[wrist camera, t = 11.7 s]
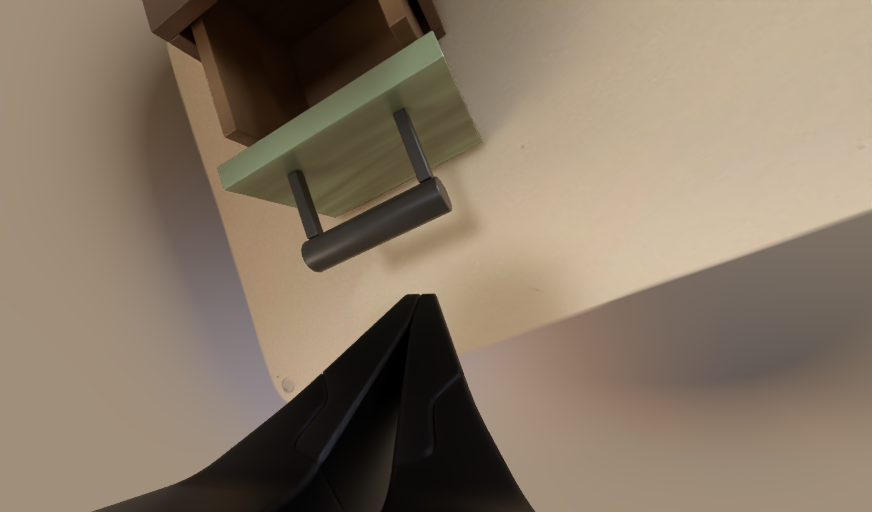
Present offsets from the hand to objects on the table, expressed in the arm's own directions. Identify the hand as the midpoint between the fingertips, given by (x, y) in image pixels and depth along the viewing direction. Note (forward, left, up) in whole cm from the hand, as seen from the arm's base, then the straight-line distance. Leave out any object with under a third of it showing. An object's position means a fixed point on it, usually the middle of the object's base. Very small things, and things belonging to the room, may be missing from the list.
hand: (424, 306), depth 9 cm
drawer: (+13, +3, -11) cm, 17 cm away
